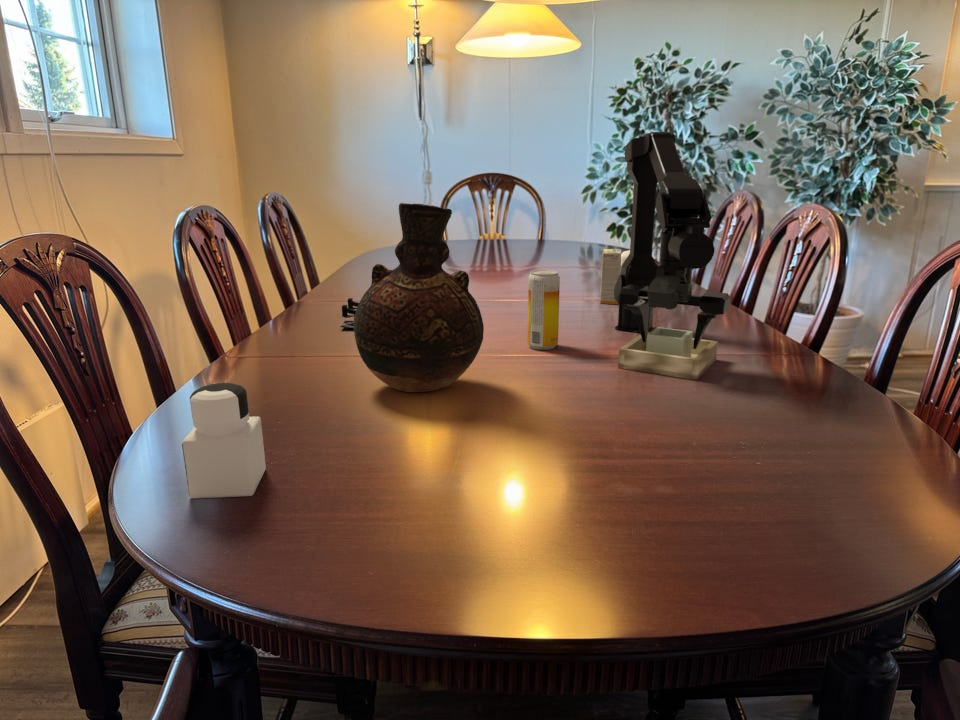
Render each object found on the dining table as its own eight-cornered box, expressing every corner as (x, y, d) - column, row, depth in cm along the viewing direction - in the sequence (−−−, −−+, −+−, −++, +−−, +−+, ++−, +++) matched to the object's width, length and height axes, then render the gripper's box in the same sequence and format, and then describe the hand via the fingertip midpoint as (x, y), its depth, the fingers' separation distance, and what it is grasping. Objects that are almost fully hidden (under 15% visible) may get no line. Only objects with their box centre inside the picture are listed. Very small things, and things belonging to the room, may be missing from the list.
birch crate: (618, 367, 123) (619, 349, 122) (643, 349, 135) (644, 331, 134) (697, 380, 116) (698, 360, 115) (716, 359, 128) (717, 341, 127)
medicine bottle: (207, 471, 84) (195, 379, 80) (266, 469, 85) (257, 377, 81) (188, 499, 77) (174, 400, 74) (253, 497, 78) (242, 397, 74)
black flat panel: (331, 331, 150) (400, 332, 150) (331, 318, 149) (399, 319, 150) (353, 304, 179) (410, 304, 179) (352, 293, 178) (410, 294, 178)
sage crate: (645, 361, 124) (647, 334, 123) (655, 352, 129) (657, 326, 128) (681, 366, 121) (683, 339, 119) (690, 357, 126) (692, 331, 125)
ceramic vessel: (345, 403, 106) (332, 206, 98) (368, 369, 123) (359, 198, 114) (481, 405, 105) (479, 206, 97) (485, 370, 122) (485, 198, 113)
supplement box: (618, 304, 174) (621, 253, 170) (599, 303, 175) (601, 252, 171) (619, 298, 182) (621, 248, 178) (600, 297, 183) (603, 248, 179)
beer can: (561, 344, 138) (564, 270, 134) (552, 352, 133) (553, 275, 129) (533, 341, 141) (534, 268, 136) (522, 348, 136) (523, 273, 131)
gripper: (609, 261, 118) (604, 348, 122) (720, 270, 109) (711, 364, 113) (630, 253, 127) (625, 334, 132) (735, 261, 118) (726, 348, 122)
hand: (669, 345), depth 124 cm, fingers open, 9 cm apart
